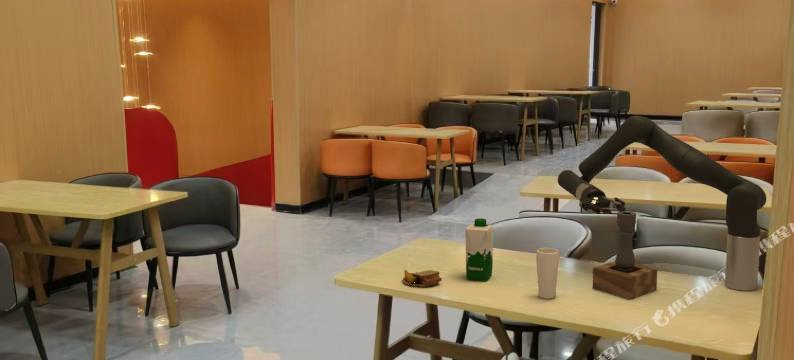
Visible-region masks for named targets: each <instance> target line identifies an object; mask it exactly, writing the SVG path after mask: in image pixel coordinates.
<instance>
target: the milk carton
mask: <svg viewBox="0 0 794 360" xmlns="http://www.w3.org/2000/svg"><path fill="white" fill-rule="evenodd" d="M493 226H494V225H493V224H487V219H486V218H482V217H481V218H475V219H474V223H471V224H470V225H469V226H468V225H467V227H466V228H465V229H464V231H465V232H464V233H465V269H466V271H465V273H466V281H477V282H485V283H486V282H488V280H490V278H491V277H492V276H493V267H494V265H493V264H494V263H493V262H494V261H493V260H494V257H493V256H494V255H493V254H494V253H493V251H494V249H493V248H494V245H493V244H494V238H493V236H494V235H493V233H494V231H493Z"/></svg>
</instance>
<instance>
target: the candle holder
mask: <svg viewBox="0 0 794 360" xmlns="http://www.w3.org/2000/svg"><path fill="white" fill-rule="evenodd" d="M616 217H617V218H616V224H617V226H618V229H619V230H617V231H616V232H617V235H618V236H619V239H618V241H619V242H618V243H619V245H618V249H617V252H616V256H615V260H614V261H615V263H616V265H617V267H618V271H620V272H623V273H627V274H629V273H632V272H631V271H632V268H633V267H634V265H635V264H636V257H635V253H634V249H633V237H634V235H635V231H634V228H635V225H636V224H637V223H636V220H637V213H636V212H633V211H628V210H627V211H626V210H625V211H622V212H619V211H617V212H616Z"/></svg>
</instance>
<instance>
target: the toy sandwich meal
mask: <svg viewBox="0 0 794 360" xmlns="http://www.w3.org/2000/svg"><path fill="white" fill-rule="evenodd" d="M403 271H404V277H403V278H402V281H403V283H406V284H405V285H407V284H408V285H407V286H409V285H412V286H411V287H413V286H428V287H431V286H430V285H433V286H435V285H437V284H438V283H439V282H442V277H440V271H437V270H433V269H432V270H431V269H428V270H421V271H417V272H409V271H408V270H407V269H404V270H403ZM414 282H415V283H414ZM436 283H437V284H436ZM434 284H435V285H434Z"/></svg>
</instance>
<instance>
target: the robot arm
mask: <svg viewBox="0 0 794 360" xmlns="http://www.w3.org/2000/svg"><path fill="white" fill-rule="evenodd" d="M634 143H636V144H637V143H638V144H642V146H643V145H644V146H646V147H648V148H650V149H652V150H653V151H655V152H656V153H658V154H659V155H661V156H662V158H663V159H664V161H666V162H667V163H668V164H669V165H670V167H672V168H673V169H674V170H675V171H677V172H678V173H681V174H682V175H683V176H685V177H686V178H688V179H689V180H692V181H694V182H698V183H699V184H703V185H705V186H708V187H711V188H713V189H716V190H718V191H720V192H722V193H723V194H725V195H726V196H727V197H726V201H725V202H726V203H725V223H726V224H725V225H726V227H727V237H726V238H727V241H726V258H725V259H726V261H725V275H724V277H725V278H724V286H725V287H726V288H728V289H732V290H736V291H742V292H743V291H745V292H748V291H755V290H756V289H758V279H759V268H760V267H759V266H760V265H759V264H760V242H761V227H760V225H758V211H759V210H761V209H763V208H764V206H765V205H766V204H767V194H766V192H765V190H764V189H763V188H762V187H761V186H759V184H758V183H757V184H756V183H755V182H752V181H751V180H748V179H746V178H745V177H743V176H740V175H739V174H736V173H734V172H733V171H731V170H730V169H728V168H727V167H726V166H724V165H722V164H721V163H719V162H717V161H716V160H714V159H713V158H711V157H710V156H709V155H707V154H705V153H704V152H702V151H700V150H699V149H697V148H695V147H694V146H693V145H690V144H689V143H687V142H685V141H683V140H681V139H679V138H677V137H675V136H674V135H672V134H669V132H667V131H665V130H664V129H663V128H662V127H660V126H659V125H658V124H657V123H655V122H654V121H653V120H651V119H650V118H649V117H647V116H646V117H645V116H641V115H632V116H629V117H628V118H626V119H625V120H624V121H623V122H622V123H621V124H620V126H619V127H618V128H617V129H616V130H615V132H614V133H613V134H611V136H610V137H609V138H608V139H607V140H606V141H605V142H604V143H603V144H602V145H601V146H599V147H598V148H597V149H596V150H595V151H593V152H592V153H591V154H589V155H588V156H587V157H586V158H585V159H584V160H582V161H581V162H580V163H579V164H578V171H579V172H580V174H581V176H579V175H578V174H577V173H575V172H574V171H572V170H570V169H566V170H562V171H561V172H560V173H559V174H558V175H557V184H558V186H559V187H561V188H562V189H564V190H565V191H566V192H568V193H569V194H570V195H572V196H573V197H574V198H576V199H577V200H578V201H579V203H578V205H579V207H580V208H581V209H582V210H583V211H591V212H594V213H595V214H597V215H601V209H602V210H605V209H606V210H610V211H613V210H615V211H617V212H622V211H626V206H625V205H626V202H625V201H624V200H622V199H620V198H618V197H613V199H612V198H608V197H607V195H606V193H605V192H604V190H601V189H600V188H599V187H597V186H596V185H594V184H592V183H591V182H592V180H593V179H594V178H595V177H596V176H598V174H600V173H601V172H602V171H604V170H605V169H606V168H608V166H609V165H610V164H611V163H612V162H613V160H614V158H616V156H617V155H618V154H619V153H621V151H622V150H624V149H625V148H627V147H628V146H631V145H632V144H634Z"/></svg>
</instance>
